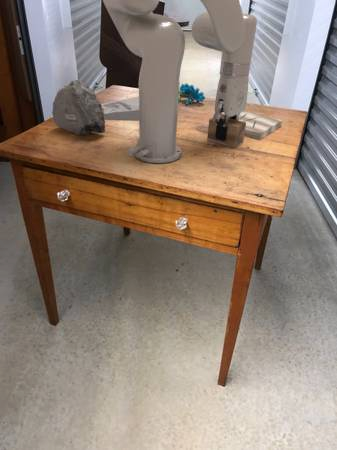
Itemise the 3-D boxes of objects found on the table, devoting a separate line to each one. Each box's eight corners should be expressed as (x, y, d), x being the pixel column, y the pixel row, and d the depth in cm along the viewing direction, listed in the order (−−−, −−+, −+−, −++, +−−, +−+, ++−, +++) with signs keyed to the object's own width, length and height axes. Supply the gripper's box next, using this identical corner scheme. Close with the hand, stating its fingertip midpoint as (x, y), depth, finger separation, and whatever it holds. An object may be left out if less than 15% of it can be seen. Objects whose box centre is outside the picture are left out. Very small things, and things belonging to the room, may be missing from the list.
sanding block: (234, 148, 100) (237, 127, 96) (207, 139, 104) (209, 119, 101) (242, 143, 103) (246, 122, 100) (216, 135, 108) (218, 115, 104)
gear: (210, 100, 133) (197, 82, 125) (203, 113, 132) (189, 97, 124) (188, 97, 140) (174, 80, 132) (181, 110, 139) (167, 94, 131)
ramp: (82, 118, 117) (80, 101, 114) (104, 105, 130) (103, 89, 127) (163, 130, 111) (164, 112, 108) (178, 115, 123) (179, 99, 120)
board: (259, 139, 106) (260, 133, 105) (213, 127, 113) (213, 120, 112) (281, 126, 116) (282, 120, 115) (237, 115, 124) (238, 109, 123)
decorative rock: (108, 136, 104) (105, 82, 95) (92, 143, 99) (88, 86, 90) (67, 124, 111) (61, 72, 102) (51, 130, 106) (42, 76, 97)
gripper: (231, 76, 85) (221, 149, 95) (262, 67, 97) (250, 132, 107) (204, 71, 89) (198, 141, 99) (237, 62, 100) (228, 126, 110)
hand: (225, 136), depth 103 cm, fingers closed on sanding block, 5 cm apart
